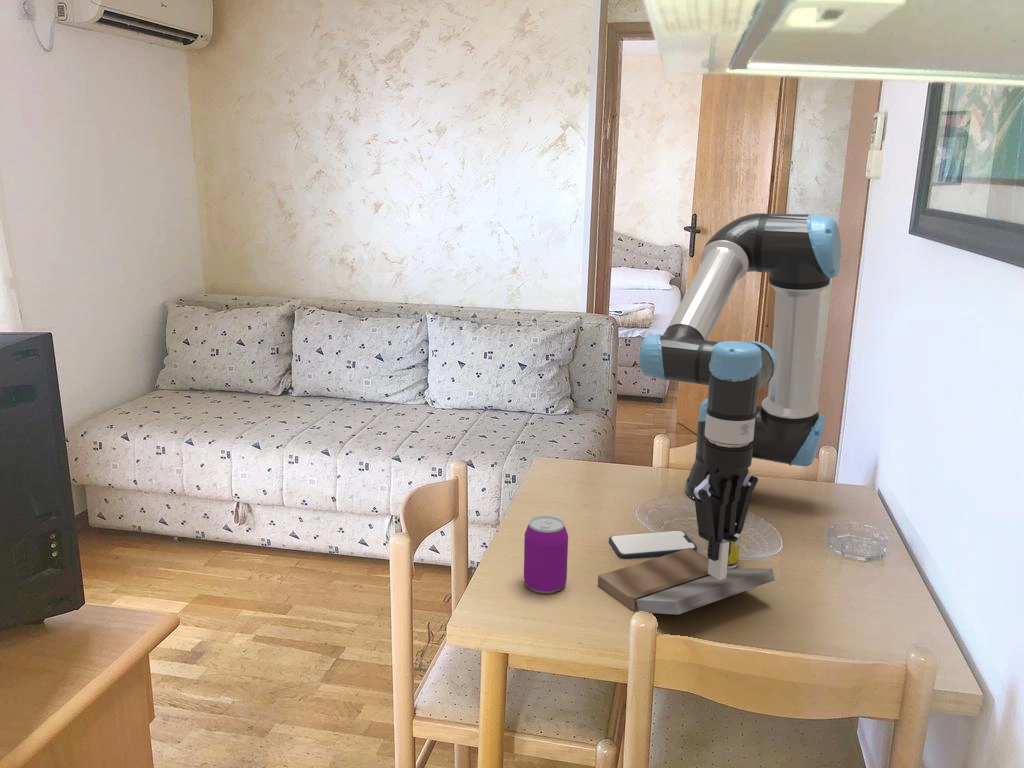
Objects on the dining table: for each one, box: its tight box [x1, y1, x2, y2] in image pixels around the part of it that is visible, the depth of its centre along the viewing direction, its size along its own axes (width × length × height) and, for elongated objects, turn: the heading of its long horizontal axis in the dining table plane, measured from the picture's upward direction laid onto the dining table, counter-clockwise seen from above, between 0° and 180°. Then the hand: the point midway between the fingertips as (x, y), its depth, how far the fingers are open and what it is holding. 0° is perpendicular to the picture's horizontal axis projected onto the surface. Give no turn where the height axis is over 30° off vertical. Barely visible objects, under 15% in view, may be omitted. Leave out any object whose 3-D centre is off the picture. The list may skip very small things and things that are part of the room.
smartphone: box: [608, 530, 698, 560], centre depth 158 cm, size 9×2×16 cm
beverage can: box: [523, 515, 569, 594], centre depth 142 cm, size 8×8×12 cm
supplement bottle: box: [727, 523, 742, 570], centre depth 151 cm, size 5×5×10 cm
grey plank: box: [636, 567, 776, 615], centre depth 135 cm, size 22×10×2 cm, turn 121°
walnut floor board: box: [597, 548, 729, 612], centre depth 144 cm, size 22×10×2 cm, turn 121°
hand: (716, 575), depth 132 cm, fingers closed
